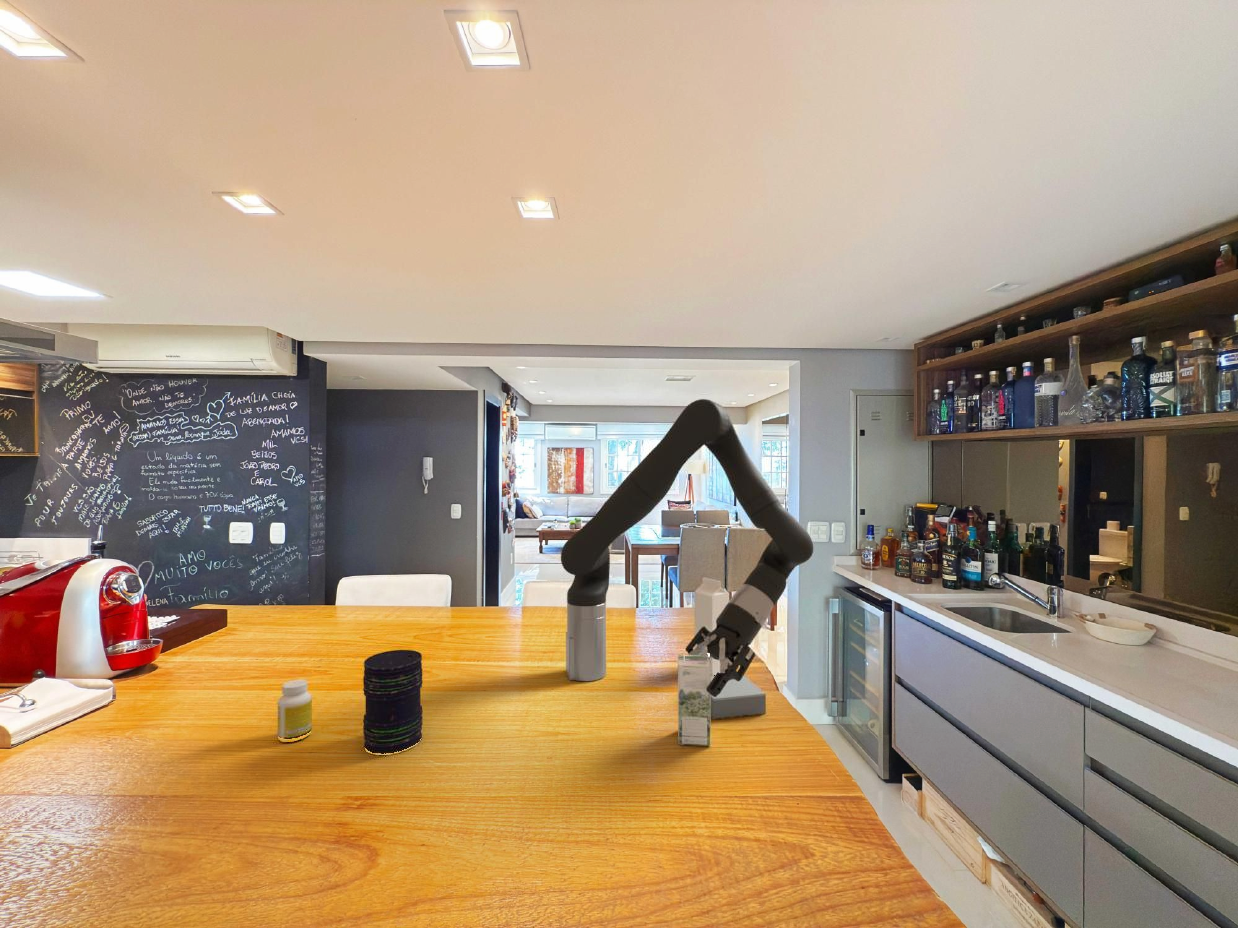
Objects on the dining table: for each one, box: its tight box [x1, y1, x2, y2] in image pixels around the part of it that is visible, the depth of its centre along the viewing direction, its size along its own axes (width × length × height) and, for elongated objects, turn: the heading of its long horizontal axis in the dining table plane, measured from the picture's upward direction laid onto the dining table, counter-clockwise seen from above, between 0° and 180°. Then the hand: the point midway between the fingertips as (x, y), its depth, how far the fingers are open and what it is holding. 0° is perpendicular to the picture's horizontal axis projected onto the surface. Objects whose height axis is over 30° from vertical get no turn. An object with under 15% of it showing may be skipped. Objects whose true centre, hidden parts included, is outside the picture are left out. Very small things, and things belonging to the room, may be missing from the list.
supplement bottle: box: [277, 679, 313, 739], centre depth 101 cm, size 5×5×10 cm
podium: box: [710, 674, 767, 720], centre depth 114 cm, size 11×11×4 cm
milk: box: [693, 577, 730, 676], centre depth 134 cm, size 6×6×22 cm
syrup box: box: [677, 654, 712, 747], centre depth 100 cm, size 6×6×14 cm
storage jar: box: [362, 649, 424, 754], centre depth 99 cm, size 10×10×15 cm
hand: (696, 685), depth 100 cm, fingers open, 8 cm apart
